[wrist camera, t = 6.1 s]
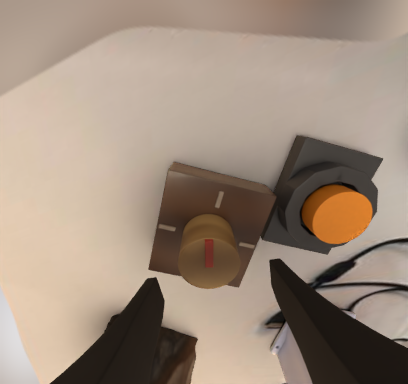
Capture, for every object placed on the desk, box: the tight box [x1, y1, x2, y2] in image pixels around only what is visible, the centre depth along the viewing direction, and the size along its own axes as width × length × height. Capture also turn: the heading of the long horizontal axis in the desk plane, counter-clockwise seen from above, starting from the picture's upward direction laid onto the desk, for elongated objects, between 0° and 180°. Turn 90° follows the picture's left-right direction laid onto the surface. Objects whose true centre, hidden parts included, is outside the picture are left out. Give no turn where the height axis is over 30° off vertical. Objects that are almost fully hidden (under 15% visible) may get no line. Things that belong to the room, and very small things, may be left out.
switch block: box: [260, 136, 383, 255], centre depth 17 cm, size 10×7×4 cm
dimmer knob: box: [178, 214, 240, 289], centre depth 15 cm, size 4×4×4 cm
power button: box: [302, 184, 372, 244], centre depth 15 cm, size 4×4×2 cm
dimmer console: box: [149, 162, 277, 287], centre depth 18 cm, size 10×9×3 cm
